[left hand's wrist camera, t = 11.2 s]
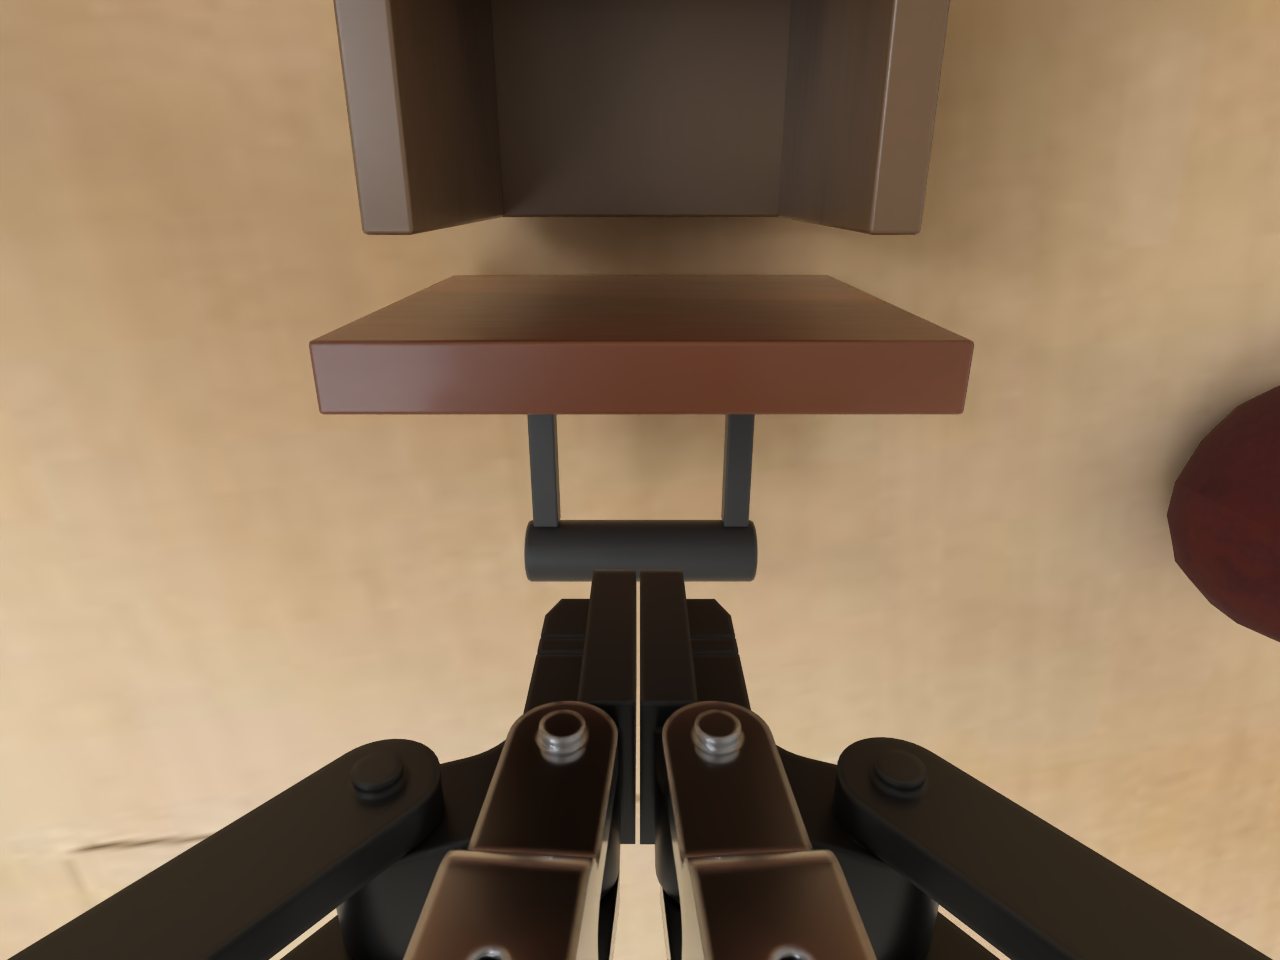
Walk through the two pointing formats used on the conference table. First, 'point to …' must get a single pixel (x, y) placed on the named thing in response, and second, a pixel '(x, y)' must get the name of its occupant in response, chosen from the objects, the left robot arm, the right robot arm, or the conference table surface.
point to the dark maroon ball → (1234, 515)
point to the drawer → (641, 187)
